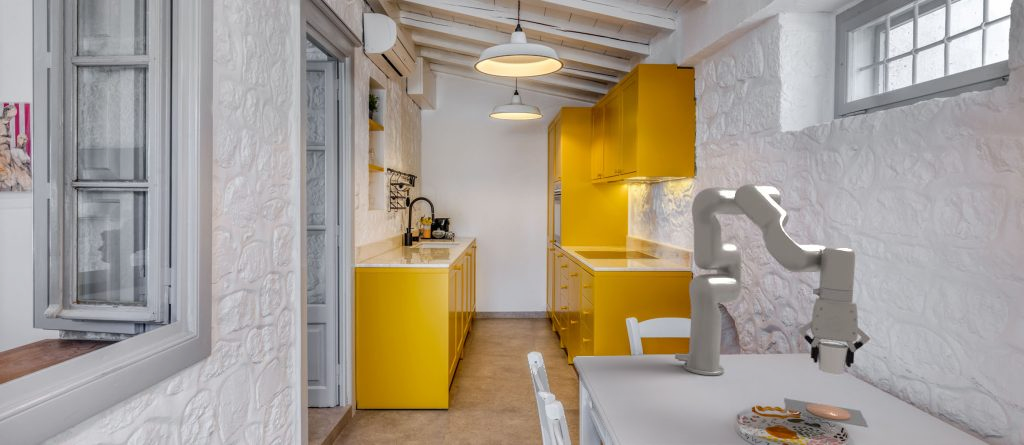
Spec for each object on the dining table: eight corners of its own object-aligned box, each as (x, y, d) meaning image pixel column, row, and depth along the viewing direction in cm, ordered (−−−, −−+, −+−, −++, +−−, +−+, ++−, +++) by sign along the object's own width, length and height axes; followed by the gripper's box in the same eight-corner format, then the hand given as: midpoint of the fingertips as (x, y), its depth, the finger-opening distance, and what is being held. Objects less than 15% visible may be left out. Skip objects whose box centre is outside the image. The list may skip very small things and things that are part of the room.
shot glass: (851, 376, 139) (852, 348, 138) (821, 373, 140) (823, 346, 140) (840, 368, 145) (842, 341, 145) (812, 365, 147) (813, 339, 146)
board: (786, 418, 142) (786, 413, 142) (784, 403, 153) (784, 398, 153) (868, 433, 135) (868, 427, 135) (859, 416, 146) (860, 410, 146)
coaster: (808, 415, 141) (808, 413, 141) (804, 402, 150) (805, 401, 150) (853, 423, 137) (853, 421, 137) (847, 409, 146) (847, 408, 146)
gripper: (798, 293, 142) (794, 362, 143) (878, 301, 135) (873, 373, 136) (796, 290, 149) (793, 355, 150) (872, 296, 142) (868, 365, 143)
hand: (831, 363), depth 143 cm, fingers closed on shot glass, 6 cm apart
